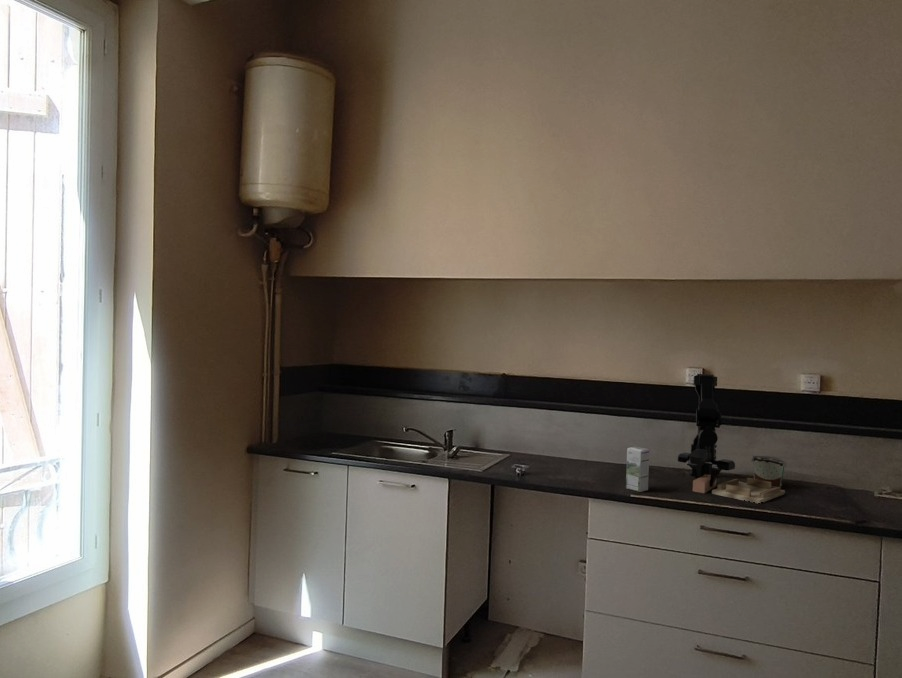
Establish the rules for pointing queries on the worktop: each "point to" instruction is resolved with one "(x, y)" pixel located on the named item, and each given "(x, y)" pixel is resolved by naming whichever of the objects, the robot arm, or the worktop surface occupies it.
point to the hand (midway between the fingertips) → (704, 485)
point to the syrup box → (637, 469)
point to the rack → (748, 490)
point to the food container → (769, 469)
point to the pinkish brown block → (703, 484)
